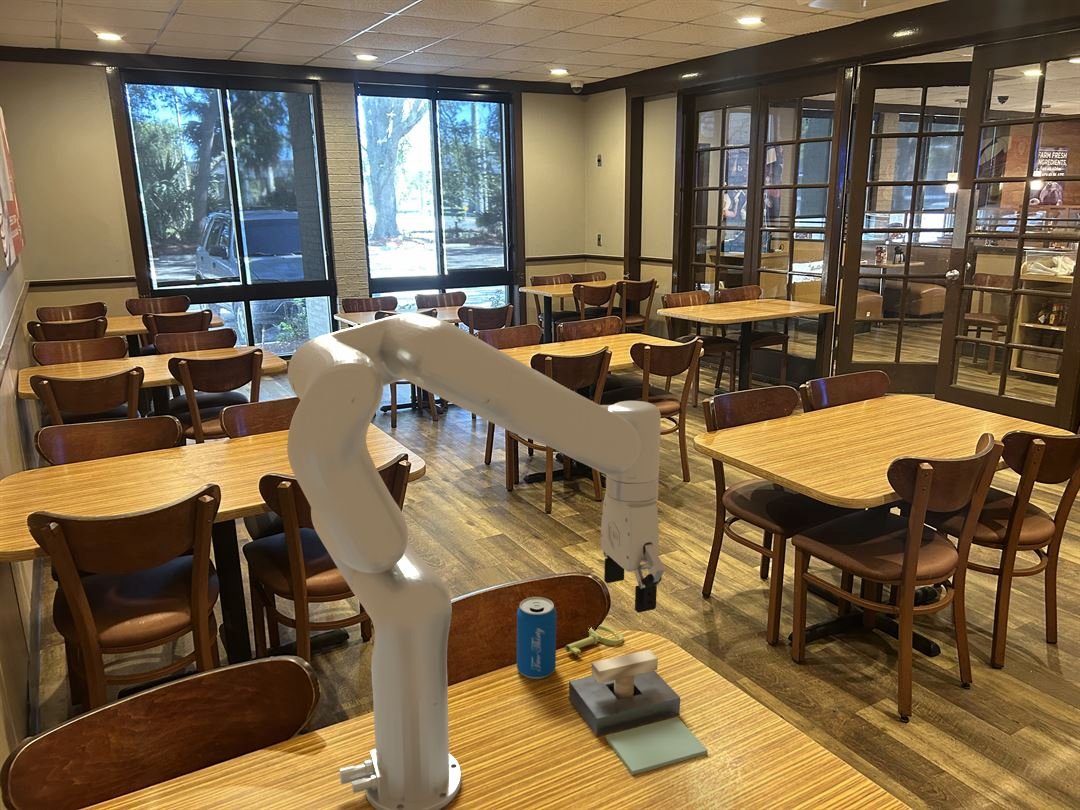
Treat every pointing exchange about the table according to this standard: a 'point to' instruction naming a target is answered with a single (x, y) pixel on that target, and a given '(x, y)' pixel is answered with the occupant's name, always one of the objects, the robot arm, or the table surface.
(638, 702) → the lock housing
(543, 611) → the beverage can
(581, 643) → the key
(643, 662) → the t key
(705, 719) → the table surface
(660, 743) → the mat
